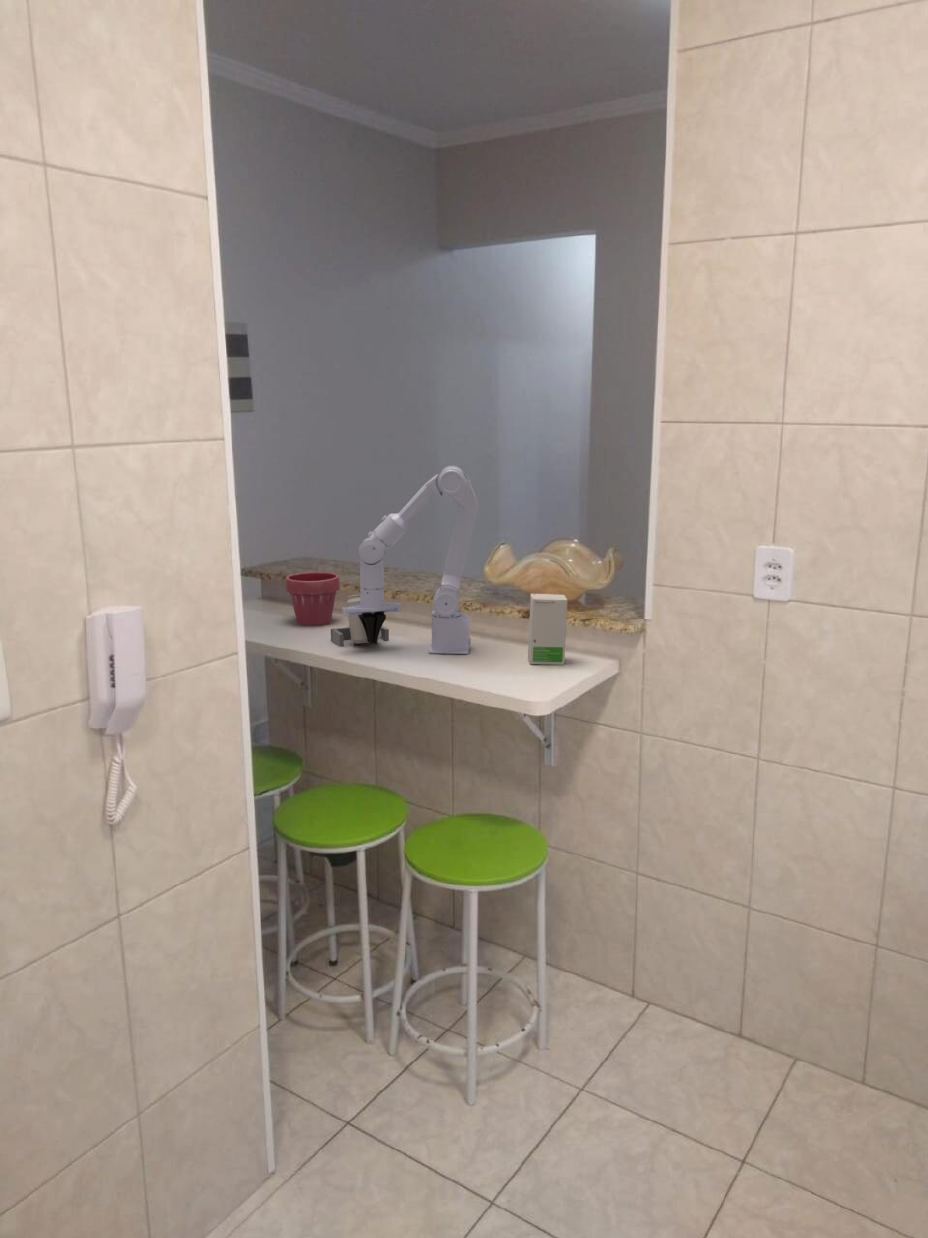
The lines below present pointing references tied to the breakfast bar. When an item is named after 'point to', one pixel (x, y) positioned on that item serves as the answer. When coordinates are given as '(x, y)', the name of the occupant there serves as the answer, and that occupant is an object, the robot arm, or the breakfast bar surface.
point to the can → (357, 623)
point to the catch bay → (344, 634)
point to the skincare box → (547, 629)
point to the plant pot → (313, 596)
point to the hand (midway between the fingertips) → (372, 642)
